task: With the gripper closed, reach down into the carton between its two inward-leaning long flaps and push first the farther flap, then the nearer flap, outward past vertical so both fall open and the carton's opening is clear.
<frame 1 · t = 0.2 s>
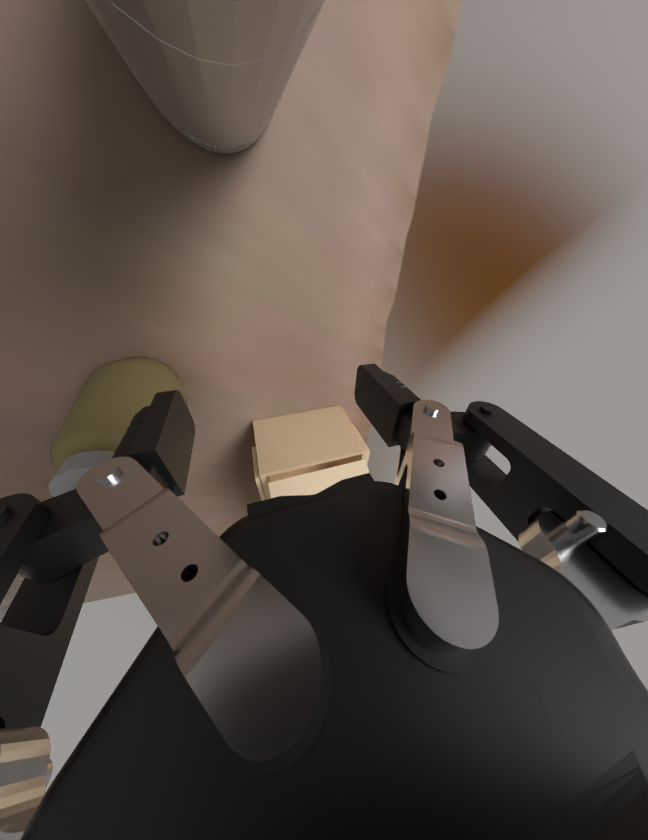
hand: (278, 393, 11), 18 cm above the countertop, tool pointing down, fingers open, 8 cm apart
squeeze bottle: (149, 379, 26), on the countertop
flap 2: (325, 496, 27), point 13 cm above the countertop, hinge at -25.0°
carton: (300, 449, 40), on the countertop
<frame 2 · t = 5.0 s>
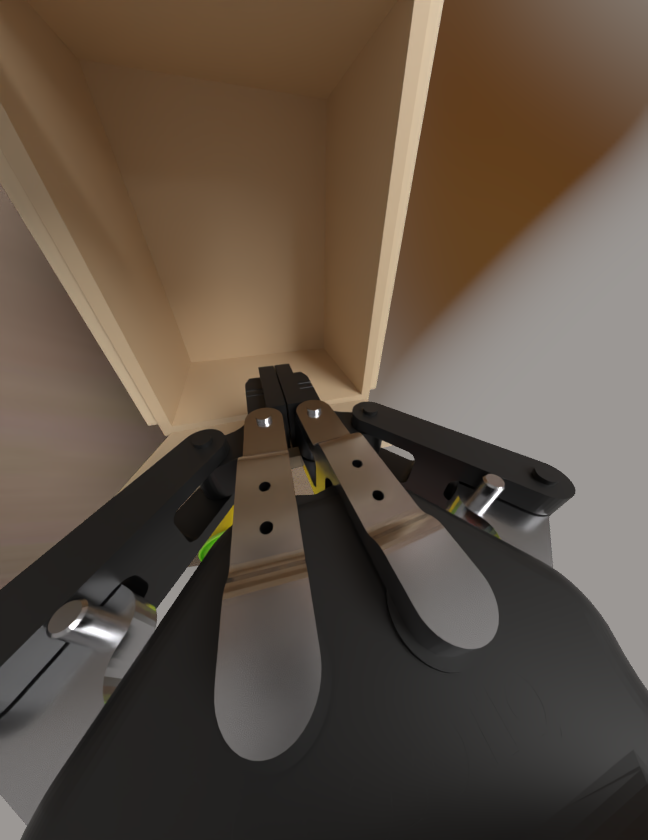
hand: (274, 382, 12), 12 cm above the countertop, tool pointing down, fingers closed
flap 1: (284, 435, 12), point 14 cm above the countertop, hinge at -19.7°, touching gripper, hand
carton: (245, 255, 18), on the countertop
stacking cups: (241, 499, 35), on the countertop
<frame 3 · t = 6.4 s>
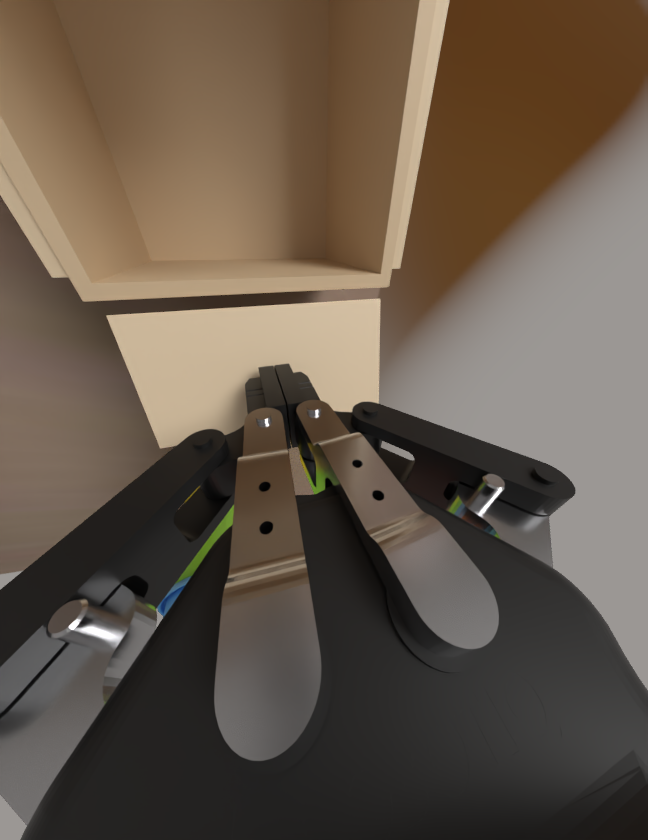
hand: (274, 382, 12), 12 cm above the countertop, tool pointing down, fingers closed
flap 1: (272, 371, 12), point 11 cm above the countertop, hinge at 73.1°
carton: (217, 88, 13), on the countertop
stacking cups: (229, 468, 31), on the countertop
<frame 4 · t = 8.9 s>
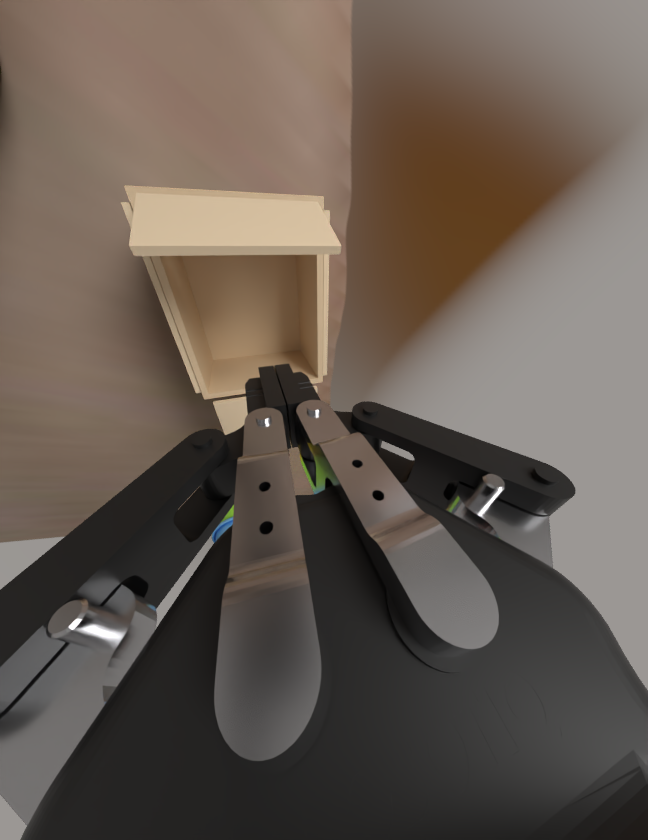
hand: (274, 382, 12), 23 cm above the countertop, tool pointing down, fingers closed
flap 1: (270, 413, 29), point 10 cm above the countertop, hinge at 95.2°
flap 2: (241, 224, 15), point 13 cm above the countertop, hinge at -25.0°
carton: (248, 294, 29), on the countertop
stacking cups: (244, 464, 47), on the countertop
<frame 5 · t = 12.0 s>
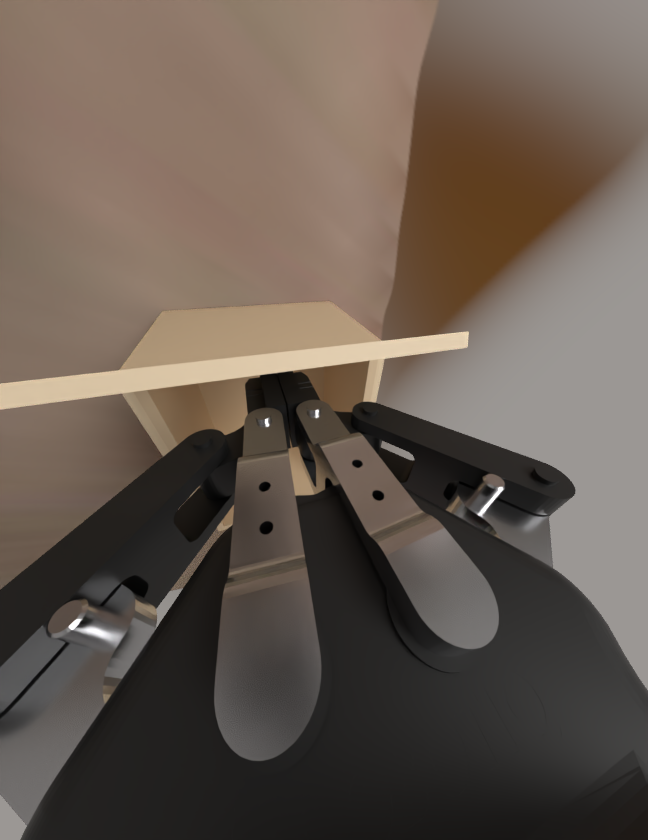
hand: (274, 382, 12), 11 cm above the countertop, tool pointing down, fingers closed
flap 2: (275, 360, 9), point 13 cm above the countertop, hinge at 24.7°, touching gripper
carton: (267, 389, 25), on the countertop
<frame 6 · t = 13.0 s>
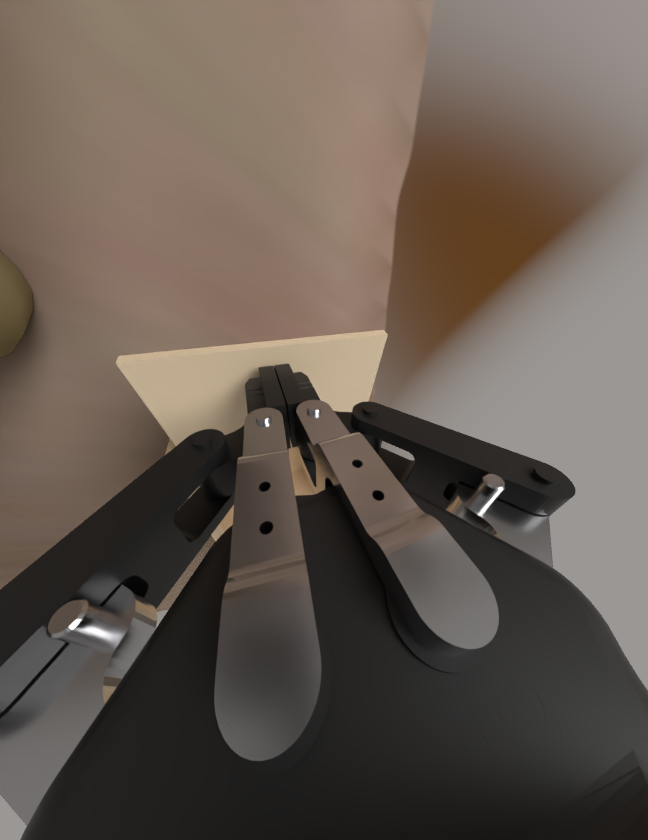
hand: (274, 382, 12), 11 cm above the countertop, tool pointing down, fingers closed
flap 2: (275, 392, 13), point 11 cm above the countertop, hinge at 79.7°
carton: (274, 430, 28), on the countertop
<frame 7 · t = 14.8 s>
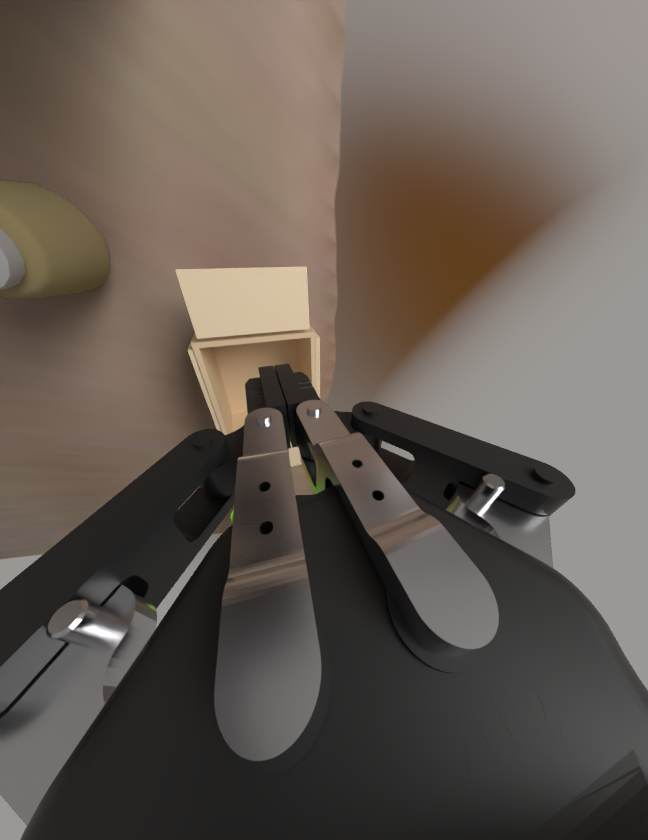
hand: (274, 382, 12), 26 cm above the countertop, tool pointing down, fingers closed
flap 1: (277, 457, 39), point 10 cm above the countertop, hinge at 95.2°
squeeze bottle: (74, 241, 24), on the countertop
flap 2: (251, 302, 24), point 10 cm above the countertop, hinge at 95.2°
carton: (260, 367, 38), on the countertop
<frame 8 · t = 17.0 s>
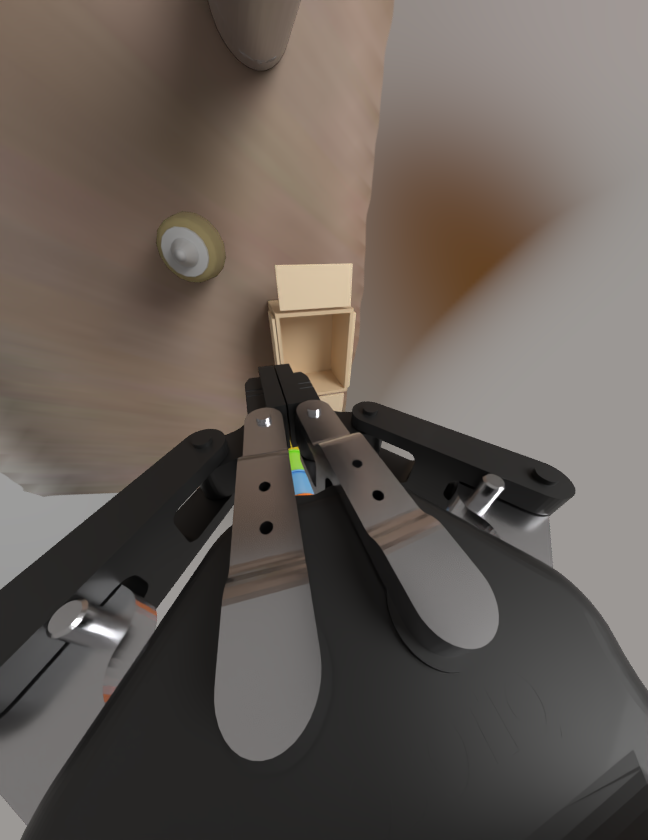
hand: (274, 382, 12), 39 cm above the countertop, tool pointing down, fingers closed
flap 1: (316, 408, 51), point 10 cm above the countertop, hinge at 95.2°
squeeze bottle: (198, 247, 37), on the countertop
flap 2: (315, 287, 36), point 10 cm above the countertop, hinge at 95.2°
carton: (304, 340, 51), on the countertop
stacking cups: (287, 444, 69), on the countertop
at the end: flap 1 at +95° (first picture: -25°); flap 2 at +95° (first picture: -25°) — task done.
